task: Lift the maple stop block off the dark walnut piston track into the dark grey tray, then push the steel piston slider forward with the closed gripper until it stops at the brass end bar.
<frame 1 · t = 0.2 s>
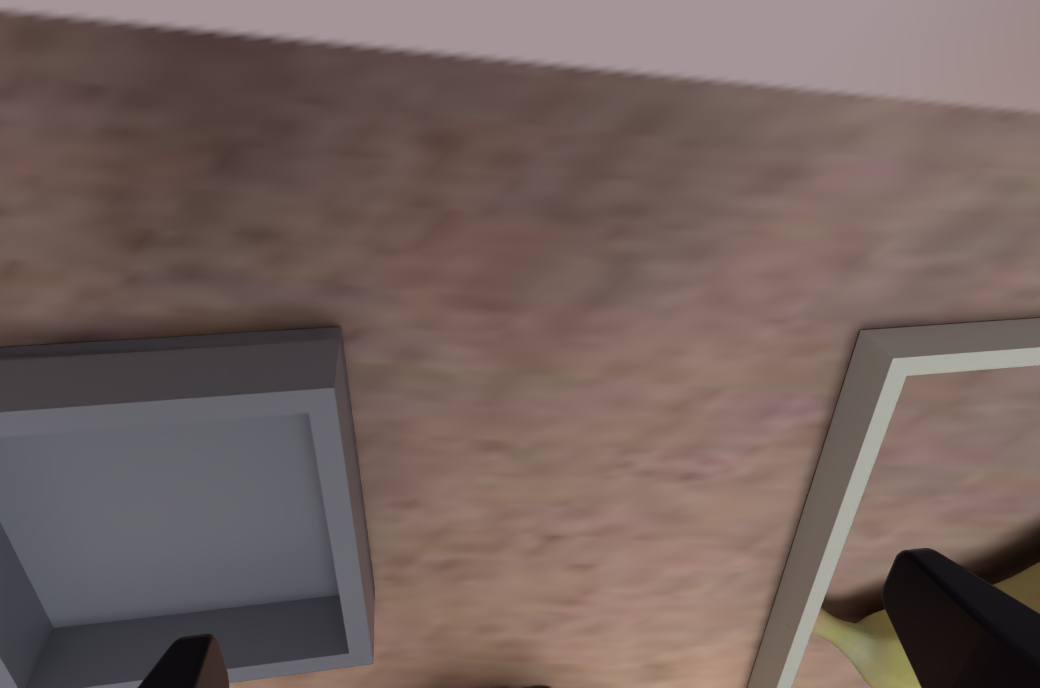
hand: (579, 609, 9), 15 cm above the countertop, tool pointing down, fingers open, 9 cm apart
tray: (180, 490, 25), on the countertop
banana: (971, 542, 34), touching fruit rim
fruit rim: (971, 542, 34), on the countertop
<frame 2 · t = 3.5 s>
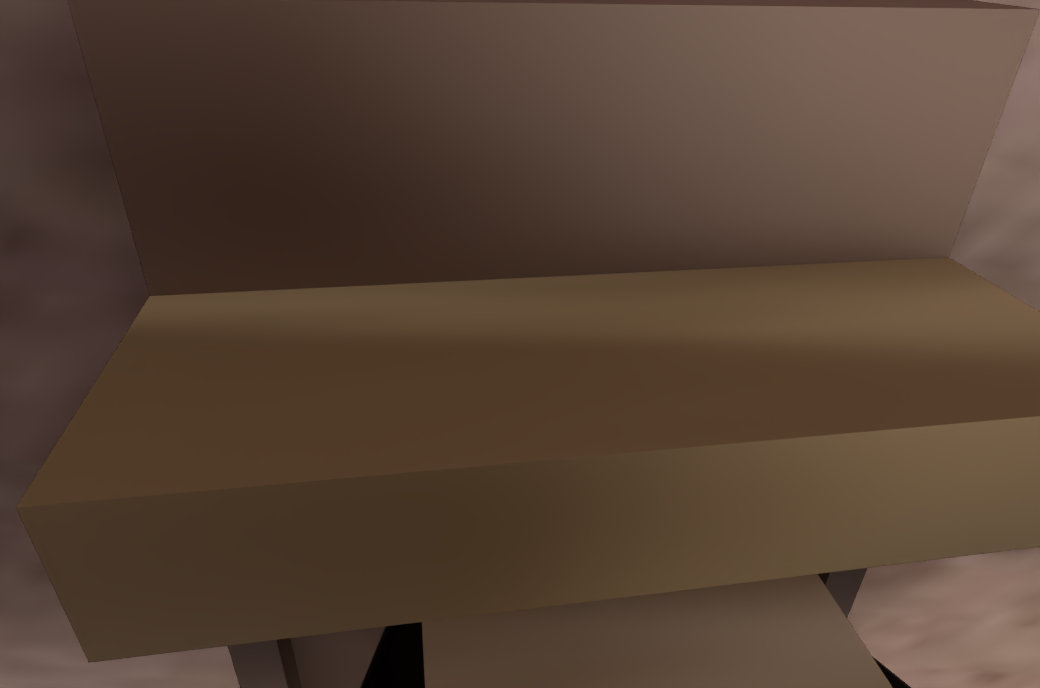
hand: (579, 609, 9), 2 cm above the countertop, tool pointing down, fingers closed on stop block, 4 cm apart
piston track: (539, 644, 13), on the countertop
stop block: (562, 549, 10), point 1 cm above the countertop, touching gripper, piston track
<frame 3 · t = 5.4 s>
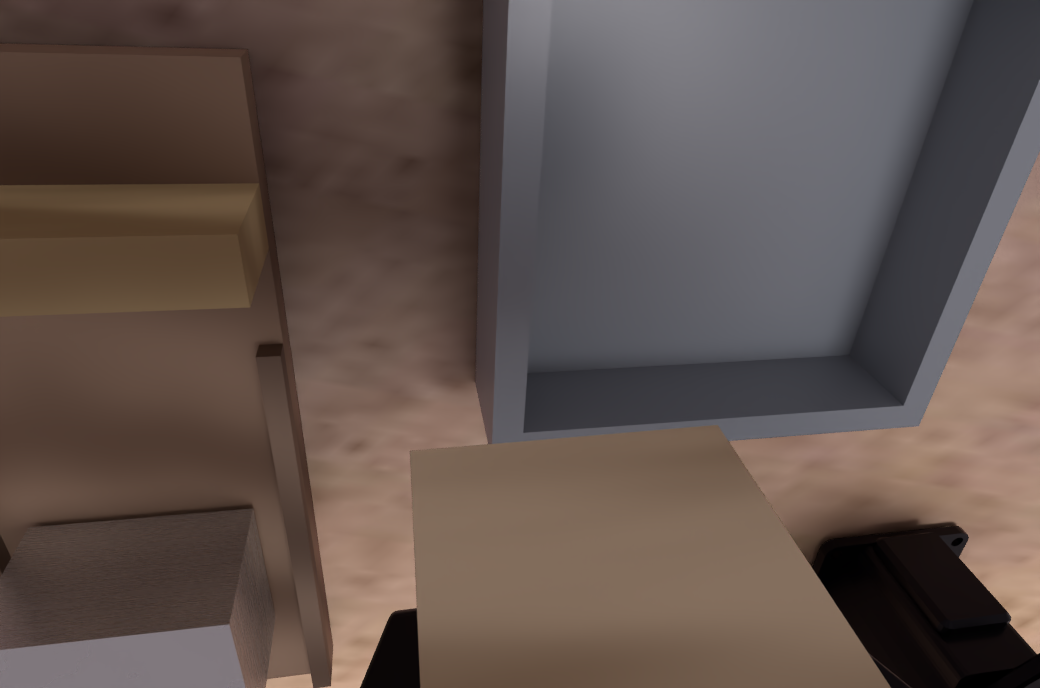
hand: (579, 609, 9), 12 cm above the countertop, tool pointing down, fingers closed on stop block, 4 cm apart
tray: (710, 178, 19), on the countertop
piston track: (139, 437, 20), on the countertop
stop block: (560, 548, 10), point 11 cm above the countertop, touching gripper
piston: (144, 633, 20), point 3 cm above the countertop, slide at 0.0 cm
when the fingers open (3 cm above the countertop, at t = 7.8 s): stop block drops 1 cm, resting on tray.
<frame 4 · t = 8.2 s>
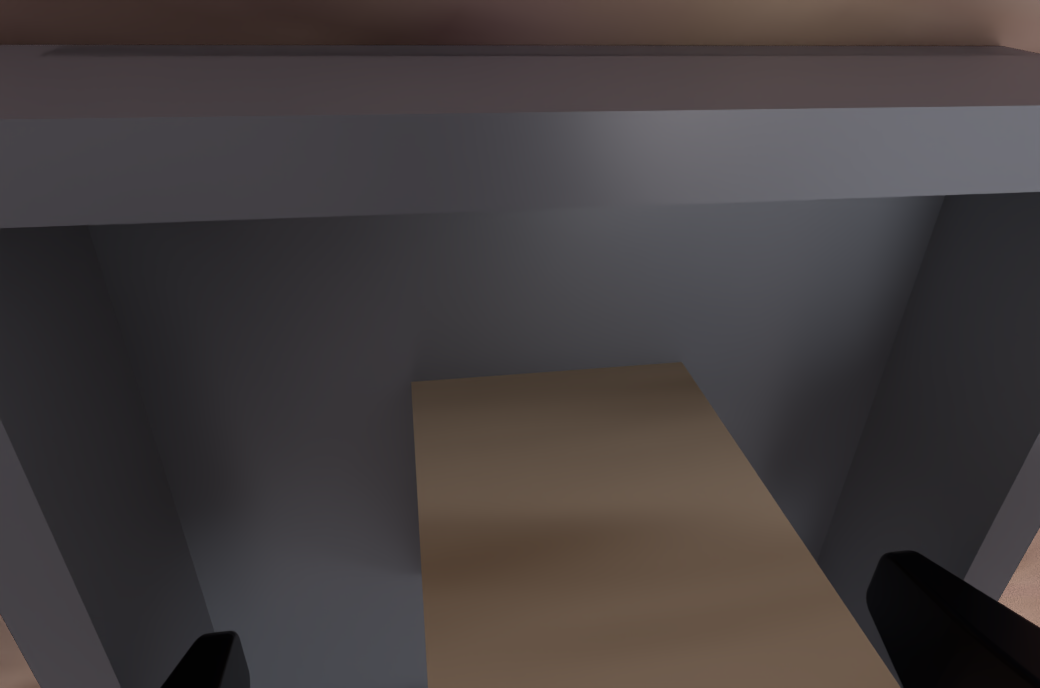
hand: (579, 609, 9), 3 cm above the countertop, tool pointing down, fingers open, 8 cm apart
tray: (533, 446, 12), on the countertop
stop block: (545, 476, 11), point 1 cm above the countertop, touching tray
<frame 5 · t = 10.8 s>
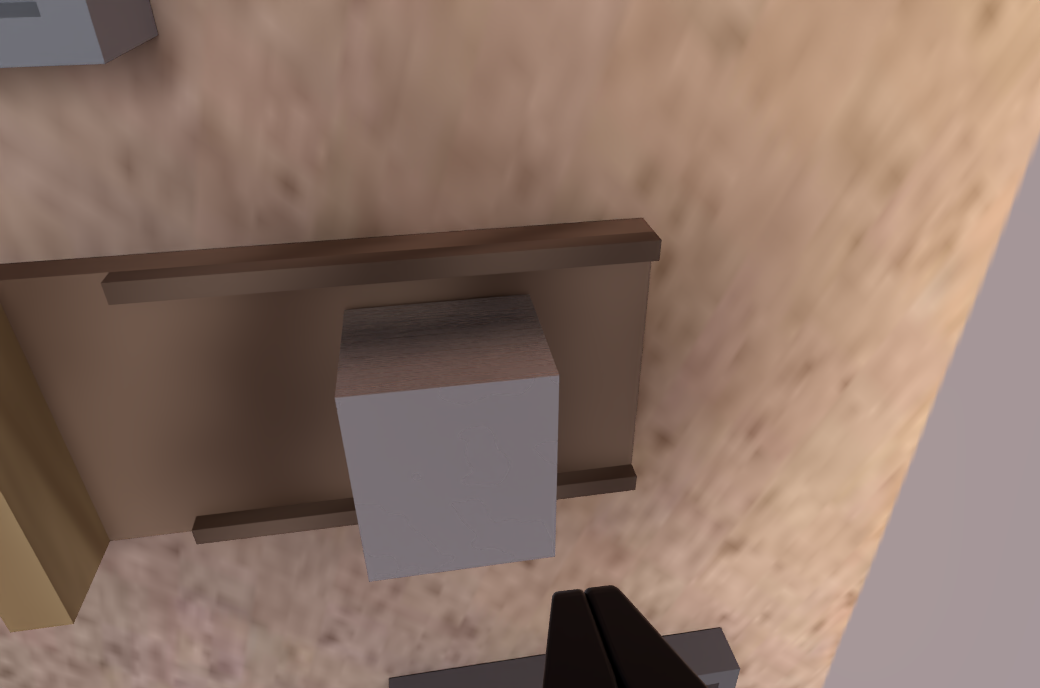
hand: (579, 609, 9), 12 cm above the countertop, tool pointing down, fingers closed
piston track: (292, 383, 21), on the countertop
piston: (450, 434, 19), point 3 cm above the countertop, slide at 0.0 cm
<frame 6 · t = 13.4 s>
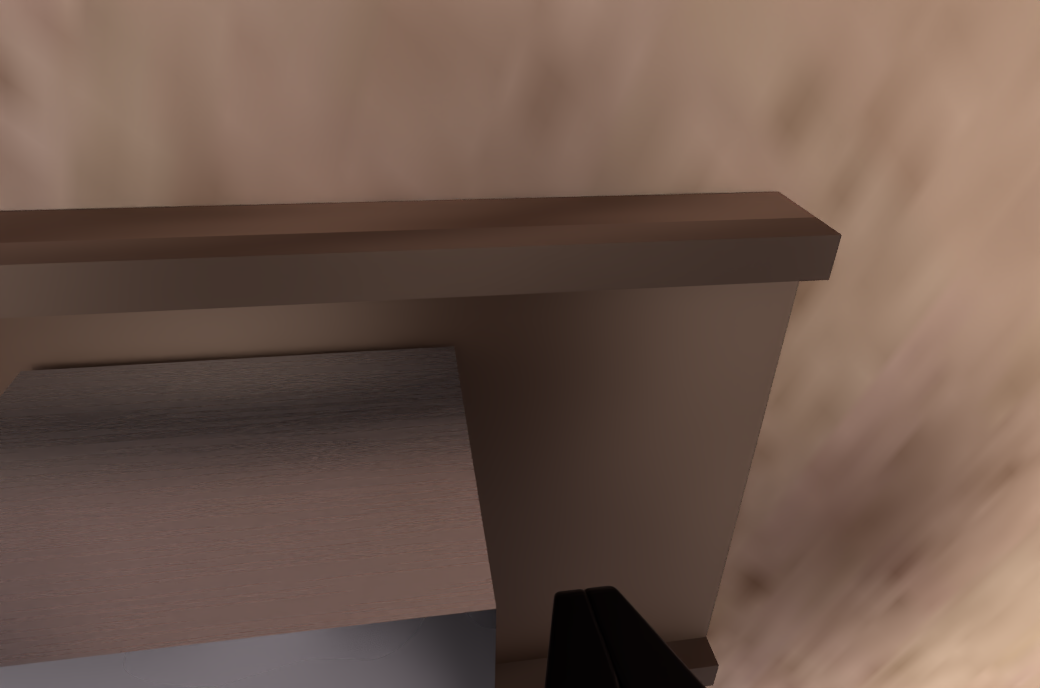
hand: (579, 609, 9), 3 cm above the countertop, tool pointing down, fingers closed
piston track: (64, 498, 10), on the countertop
piston: (262, 660, 8), point 3 cm above the countertop, slide at 1.2 cm, touching gripper
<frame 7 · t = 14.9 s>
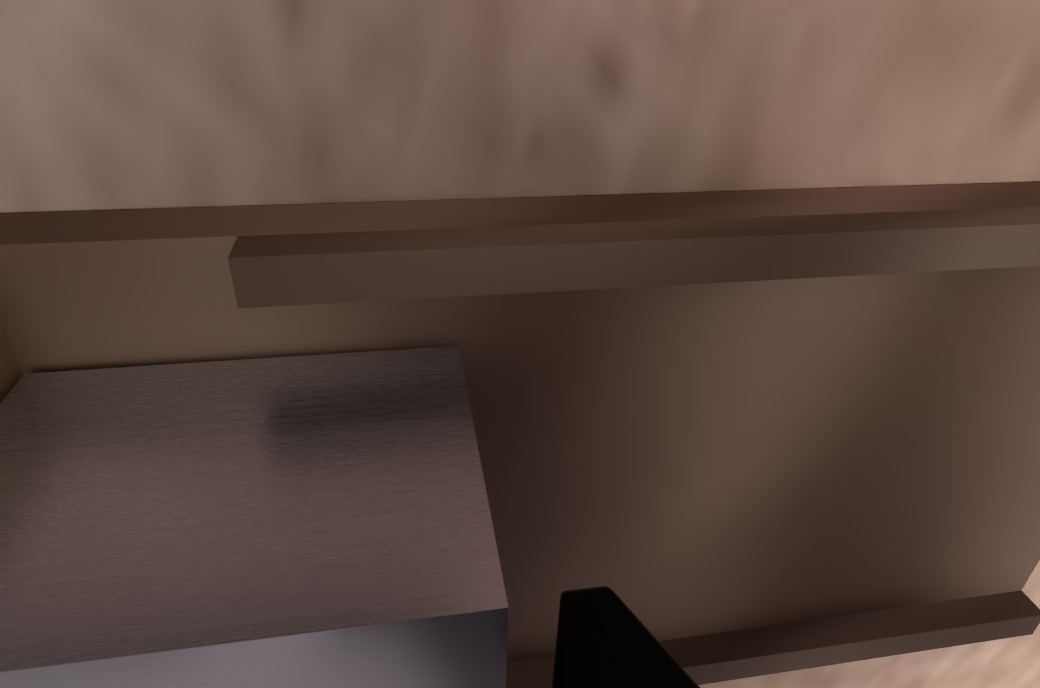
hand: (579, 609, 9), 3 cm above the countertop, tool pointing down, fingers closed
piston track: (518, 459, 12), on the countertop
piston: (268, 661, 8), point 3 cm above the countertop, slide at 8.1 cm, touching gripper
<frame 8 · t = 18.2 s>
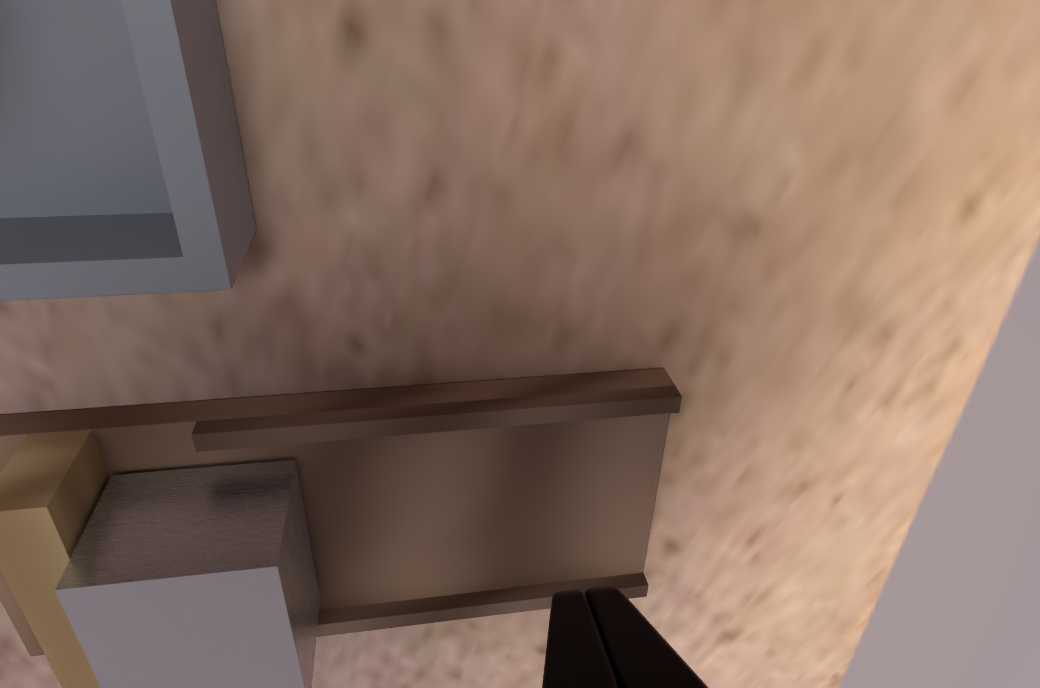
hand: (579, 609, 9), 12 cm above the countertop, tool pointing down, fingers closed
piston track: (343, 503, 23), on the countertop
piston: (211, 594, 20), point 3 cm above the countertop, slide at 8.0 cm
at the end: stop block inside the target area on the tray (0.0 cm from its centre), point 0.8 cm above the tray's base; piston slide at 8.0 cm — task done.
